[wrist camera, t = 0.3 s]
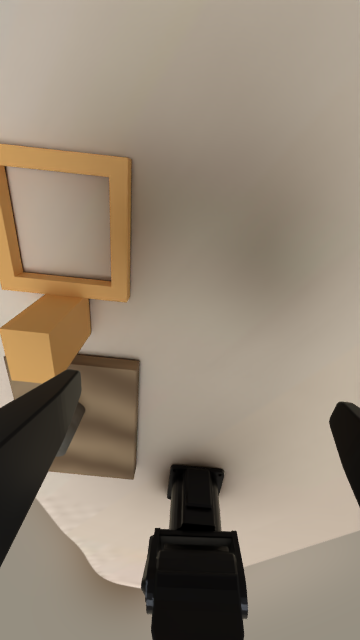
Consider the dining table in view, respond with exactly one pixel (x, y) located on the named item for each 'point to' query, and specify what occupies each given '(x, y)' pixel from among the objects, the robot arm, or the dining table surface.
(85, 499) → the dining table surface
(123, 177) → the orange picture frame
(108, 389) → the hook plate
